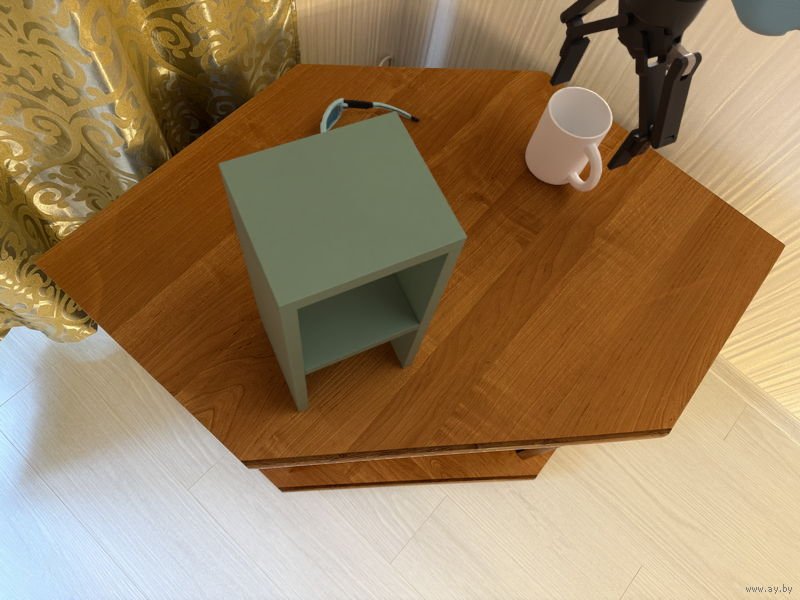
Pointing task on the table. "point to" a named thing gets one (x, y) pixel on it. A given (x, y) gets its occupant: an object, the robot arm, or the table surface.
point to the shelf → (342, 244)
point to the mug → (569, 138)
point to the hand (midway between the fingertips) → (587, 122)
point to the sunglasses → (335, 113)
